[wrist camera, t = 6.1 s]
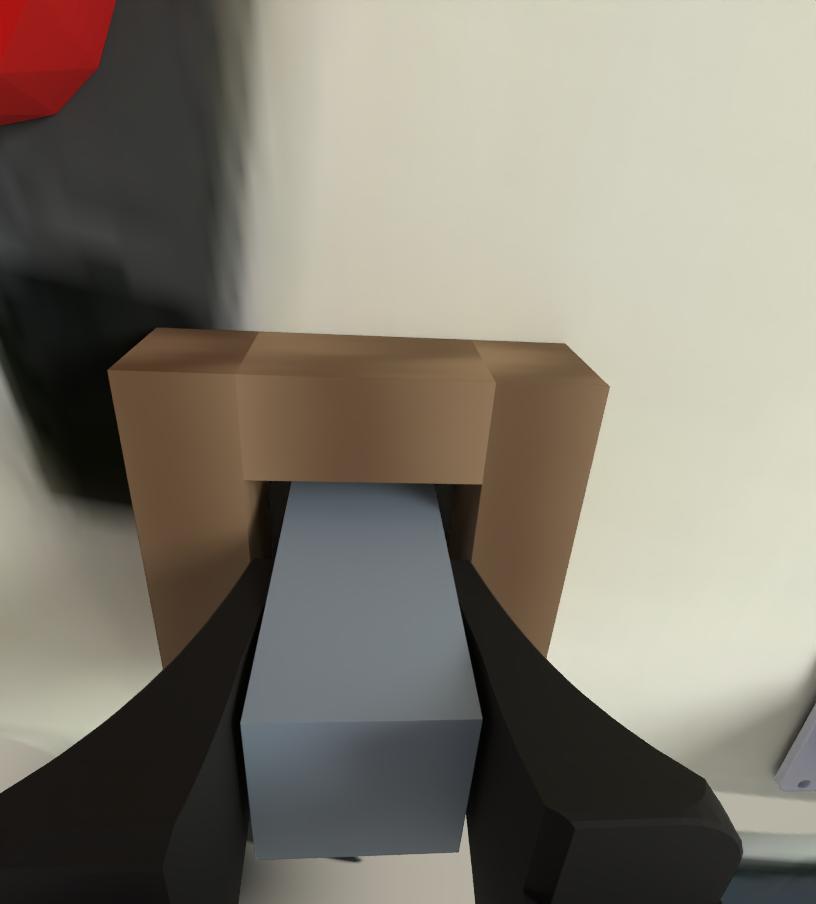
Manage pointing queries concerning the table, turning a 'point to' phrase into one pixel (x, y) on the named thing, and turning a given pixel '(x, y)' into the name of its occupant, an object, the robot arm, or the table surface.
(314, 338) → the socket block
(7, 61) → the toy
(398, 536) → the peg
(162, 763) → the robot arm
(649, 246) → the table surface
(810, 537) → the table surface
